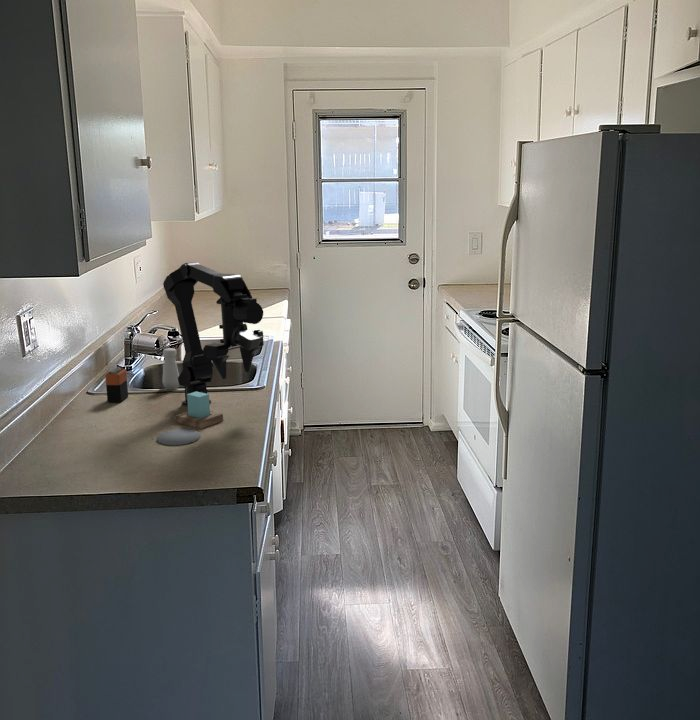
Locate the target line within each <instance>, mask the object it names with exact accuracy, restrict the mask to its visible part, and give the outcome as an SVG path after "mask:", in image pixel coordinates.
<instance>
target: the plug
mask: <svg viewBox="0 0 700 720" xmlns="http://www.w3.org/2000/svg"><path fill="white" fill-rule="evenodd" d="M209 400H210V394H209V393H207V394H206V393H201V392H197V391H196V392H193V393H190V394H187V402H188V405H187V411H188V416H192V417H196V418H204V417H207V416H210V411H211V409H210V405H211V404H210V402H209Z"/></svg>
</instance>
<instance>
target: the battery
mask: <svg viewBox="0 0 700 720" xmlns="http://www.w3.org/2000/svg"><path fill="white" fill-rule="evenodd" d="M127 375H128V374H127V369H125V368H121V366H117V367H115V368H112V369H110V370H109V371H108V372H107V373H105V375H104V376H105V386H106V399H107V403H113V404H114V403H115V404H116V403H119V404H120V403H122V402H123V401H125V400H126V399H127V398H128V397H129V389H128V376H127Z"/></svg>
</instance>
